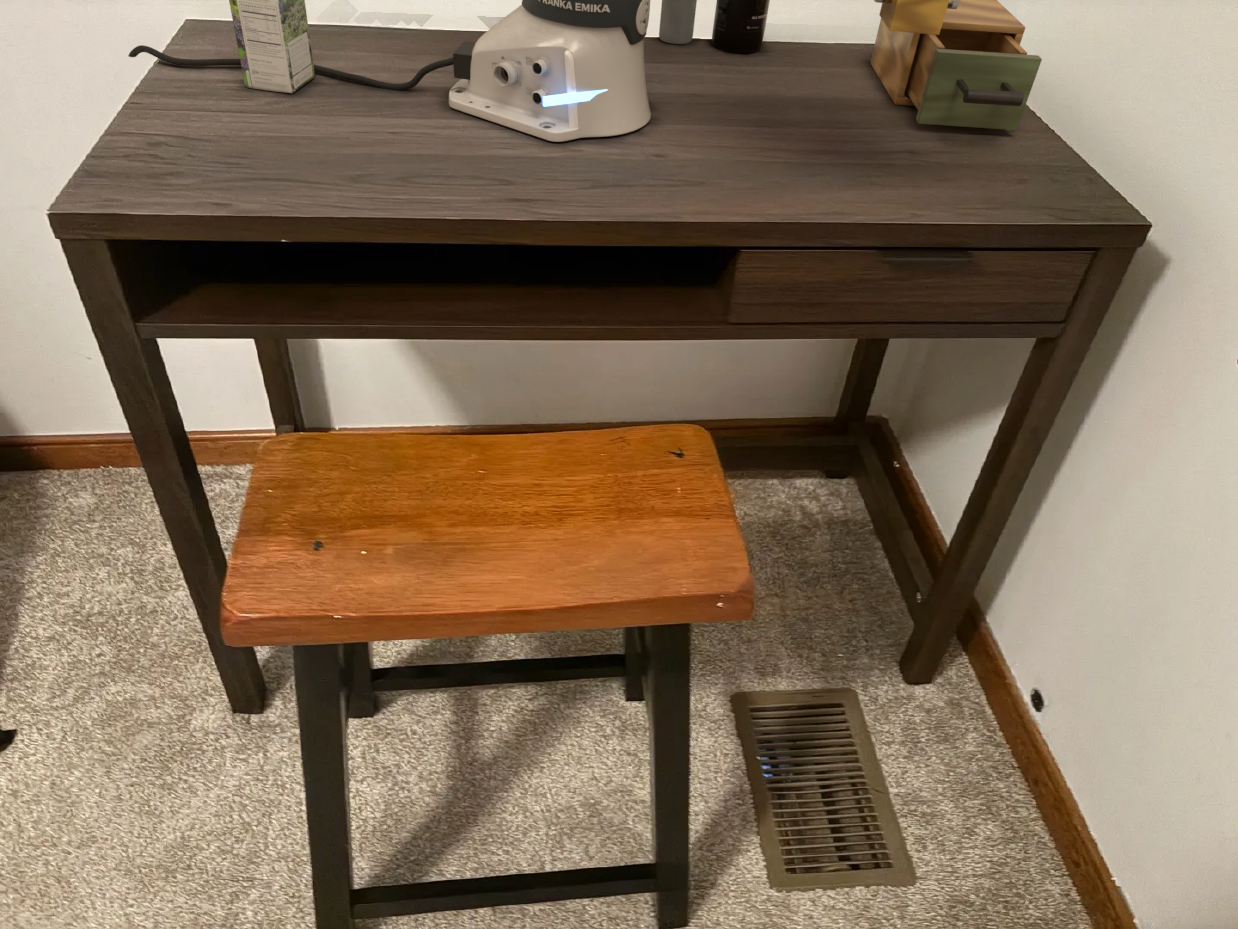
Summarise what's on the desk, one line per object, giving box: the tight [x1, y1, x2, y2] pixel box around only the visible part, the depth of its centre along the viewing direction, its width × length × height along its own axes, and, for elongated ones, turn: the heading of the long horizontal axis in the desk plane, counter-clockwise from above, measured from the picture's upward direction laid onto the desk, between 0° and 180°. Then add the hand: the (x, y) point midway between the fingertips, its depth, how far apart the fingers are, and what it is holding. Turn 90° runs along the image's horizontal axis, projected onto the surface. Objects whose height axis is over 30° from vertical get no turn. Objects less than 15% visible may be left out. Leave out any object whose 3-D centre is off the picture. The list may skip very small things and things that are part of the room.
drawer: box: [905, 29, 1042, 131], centre depth 105 cm, size 18×11×8 cm, turn 0°
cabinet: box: [870, 0, 1026, 107], centre depth 113 cm, size 15×13×10 cm
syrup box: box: [228, 0, 316, 94], centre depth 99 cm, size 6×6×14 cm
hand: (913, 3), depth 82 cm, fingers closed on block, 4 cm apart
